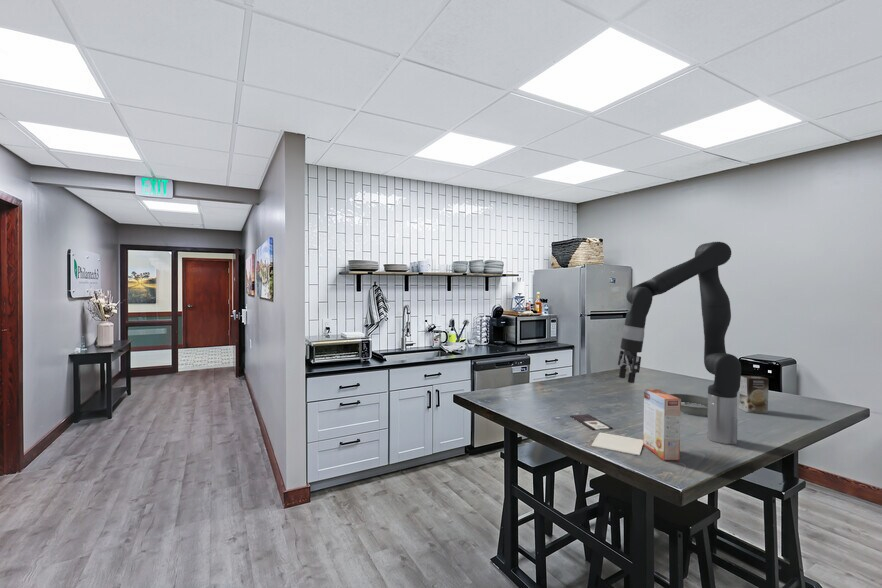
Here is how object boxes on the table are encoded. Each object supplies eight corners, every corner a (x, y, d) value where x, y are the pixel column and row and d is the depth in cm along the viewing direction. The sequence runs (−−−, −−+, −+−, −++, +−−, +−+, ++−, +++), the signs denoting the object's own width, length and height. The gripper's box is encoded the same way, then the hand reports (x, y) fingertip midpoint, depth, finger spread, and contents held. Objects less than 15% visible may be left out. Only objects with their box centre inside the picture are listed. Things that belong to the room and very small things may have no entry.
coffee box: (747, 412, 192) (747, 378, 192) (738, 408, 199) (739, 375, 199) (768, 413, 192) (769, 378, 191) (759, 409, 198) (759, 375, 198)
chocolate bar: (588, 414, 188) (612, 427, 170) (588, 416, 188) (612, 429, 170) (570, 415, 186) (592, 428, 168) (570, 417, 186) (592, 431, 168)
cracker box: (681, 461, 138) (681, 398, 138) (663, 461, 138) (663, 398, 138) (659, 445, 152) (659, 388, 152) (642, 445, 152) (643, 388, 152)
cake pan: (726, 420, 182) (727, 409, 182) (663, 412, 193) (663, 403, 193) (717, 405, 205) (717, 396, 204) (661, 399, 215) (661, 391, 215)
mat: (644, 441, 156) (644, 440, 156) (639, 455, 143) (639, 454, 143) (599, 433, 164) (599, 432, 164) (591, 446, 151) (591, 445, 151)
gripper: (651, 342, 151) (644, 386, 152) (634, 337, 165) (628, 377, 166) (630, 339, 152) (623, 383, 152) (615, 334, 166) (609, 374, 166)
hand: (626, 380), depth 159 cm, fingers open, 8 cm apart
